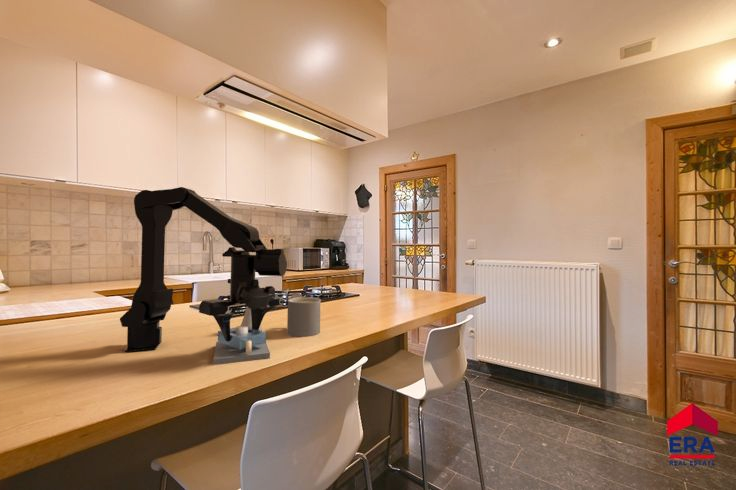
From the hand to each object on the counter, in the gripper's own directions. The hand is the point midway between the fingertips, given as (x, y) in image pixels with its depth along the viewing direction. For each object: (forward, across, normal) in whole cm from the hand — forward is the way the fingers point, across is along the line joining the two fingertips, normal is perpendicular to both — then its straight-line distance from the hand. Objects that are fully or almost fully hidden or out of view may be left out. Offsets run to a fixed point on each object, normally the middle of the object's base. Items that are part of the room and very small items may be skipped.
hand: (241, 337), depth 80 cm
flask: (+4, +12, +15) cm, 20 cm away
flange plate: (+1, 0, 0) cm, 1 cm away
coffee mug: (+4, +23, +4) cm, 24 cm away
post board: (+4, 0, 0) cm, 4 cm away
